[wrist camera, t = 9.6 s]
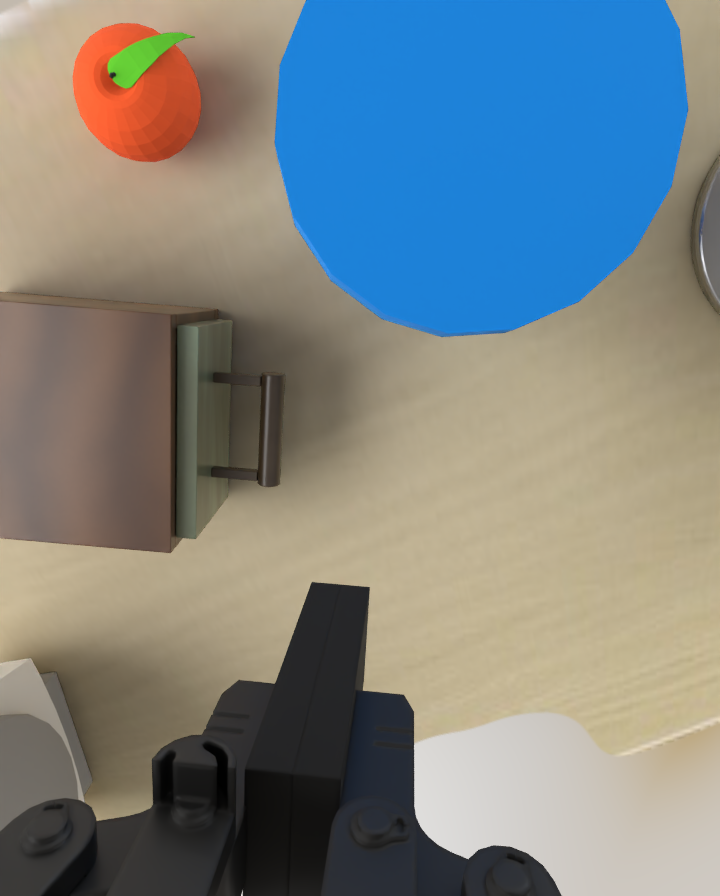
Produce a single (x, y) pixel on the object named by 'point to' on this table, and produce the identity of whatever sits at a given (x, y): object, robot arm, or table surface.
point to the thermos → (477, 150)
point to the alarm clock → (36, 742)
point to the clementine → (137, 91)
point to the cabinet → (89, 420)
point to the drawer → (216, 424)
